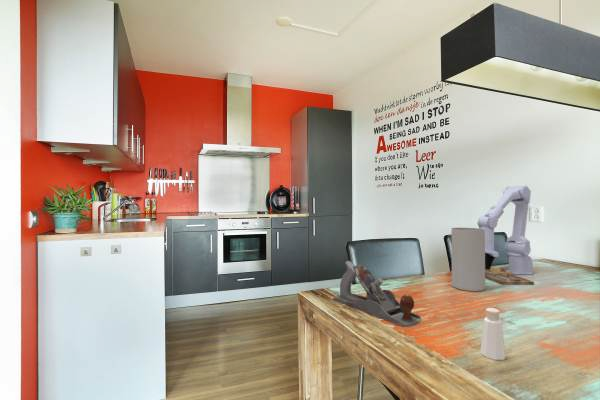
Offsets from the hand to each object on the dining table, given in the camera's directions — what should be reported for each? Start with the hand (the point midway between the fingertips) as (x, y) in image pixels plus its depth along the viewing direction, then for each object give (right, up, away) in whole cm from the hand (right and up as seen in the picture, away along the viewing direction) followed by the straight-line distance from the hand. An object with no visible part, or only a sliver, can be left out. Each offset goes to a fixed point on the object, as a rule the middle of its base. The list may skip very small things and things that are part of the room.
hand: (487, 269), depth 154 cm
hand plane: (-66, -5, -45) cm, 80 cm away
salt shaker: (-44, -4, -77) cm, 89 cm away
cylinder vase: (-19, -4, -19) cm, 27 cm away
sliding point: (+3, -2, -5) cm, 7 cm away
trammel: (+3, -2, -4) cm, 6 cm away
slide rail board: (+4, -4, -4) cm, 7 cm away
